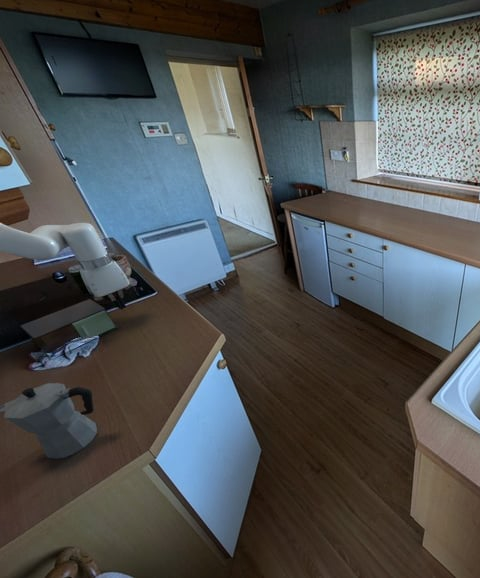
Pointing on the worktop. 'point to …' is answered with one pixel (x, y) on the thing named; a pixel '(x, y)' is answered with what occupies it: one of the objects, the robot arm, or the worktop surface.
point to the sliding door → (93, 325)
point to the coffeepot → (53, 418)
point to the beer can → (78, 279)
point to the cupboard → (61, 325)
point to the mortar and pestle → (125, 267)
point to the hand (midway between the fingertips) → (121, 307)
